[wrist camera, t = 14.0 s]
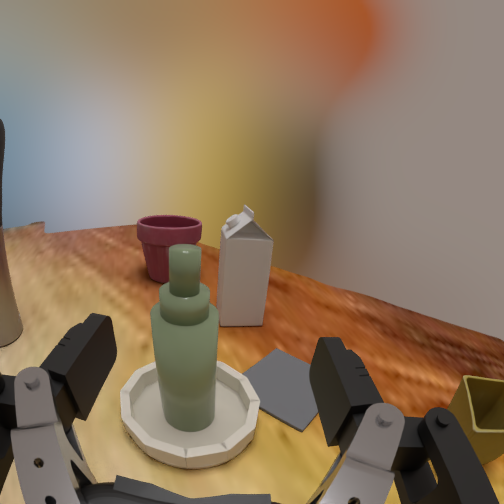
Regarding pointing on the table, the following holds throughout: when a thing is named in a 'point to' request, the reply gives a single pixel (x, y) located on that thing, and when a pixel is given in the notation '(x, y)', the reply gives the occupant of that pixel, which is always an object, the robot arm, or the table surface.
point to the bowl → (190, 443)
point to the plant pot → (165, 240)
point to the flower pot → (481, 415)
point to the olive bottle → (186, 343)
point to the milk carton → (243, 271)
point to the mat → (284, 388)
